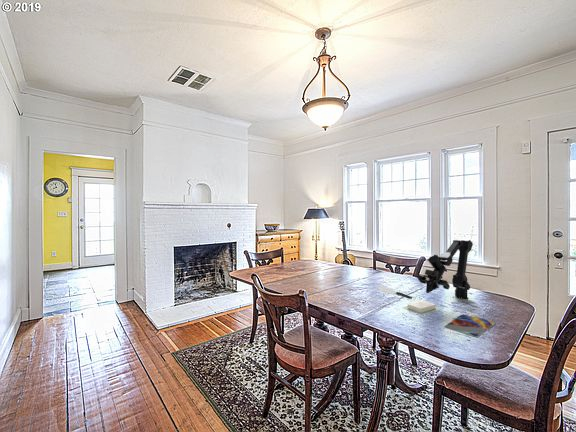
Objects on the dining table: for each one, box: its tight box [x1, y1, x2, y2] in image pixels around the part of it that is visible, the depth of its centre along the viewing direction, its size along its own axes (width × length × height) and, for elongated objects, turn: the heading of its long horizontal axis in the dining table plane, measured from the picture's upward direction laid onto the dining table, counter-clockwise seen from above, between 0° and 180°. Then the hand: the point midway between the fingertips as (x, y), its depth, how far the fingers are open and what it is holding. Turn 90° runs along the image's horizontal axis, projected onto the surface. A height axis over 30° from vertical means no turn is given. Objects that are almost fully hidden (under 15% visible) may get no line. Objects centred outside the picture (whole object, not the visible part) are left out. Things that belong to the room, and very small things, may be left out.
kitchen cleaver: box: [375, 285, 413, 299], centre depth 203 cm, size 31×2×10 cm
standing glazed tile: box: [407, 299, 437, 313], centre depth 170 cm, size 3×9×14 cm
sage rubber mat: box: [402, 305, 444, 316], centre depth 171 cm, size 20×14×1 cm
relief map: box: [443, 313, 496, 338], centre depth 146 cm, size 25×15×2 cm, turn 128°
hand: (426, 292), depth 172 cm, fingers closed
